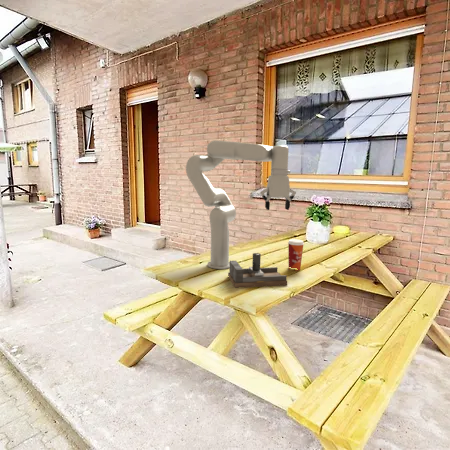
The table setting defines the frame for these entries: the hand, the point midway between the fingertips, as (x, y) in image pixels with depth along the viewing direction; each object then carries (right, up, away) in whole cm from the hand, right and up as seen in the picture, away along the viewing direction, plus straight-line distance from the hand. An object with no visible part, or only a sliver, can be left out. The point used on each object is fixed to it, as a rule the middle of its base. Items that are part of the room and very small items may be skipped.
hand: (277, 209), depth 158 cm
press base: (-10, -33, -3) cm, 35 cm away
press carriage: (-10, -31, -4) cm, 33 cm away
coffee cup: (+12, -30, +16) cm, 36 cm away
